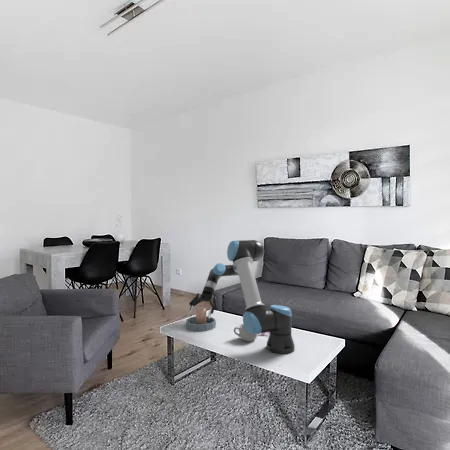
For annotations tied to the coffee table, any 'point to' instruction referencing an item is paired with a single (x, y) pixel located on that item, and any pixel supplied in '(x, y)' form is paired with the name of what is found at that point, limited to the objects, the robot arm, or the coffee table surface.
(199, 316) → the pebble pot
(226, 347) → the coffee table surface
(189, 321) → the bowl
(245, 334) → the teacup
